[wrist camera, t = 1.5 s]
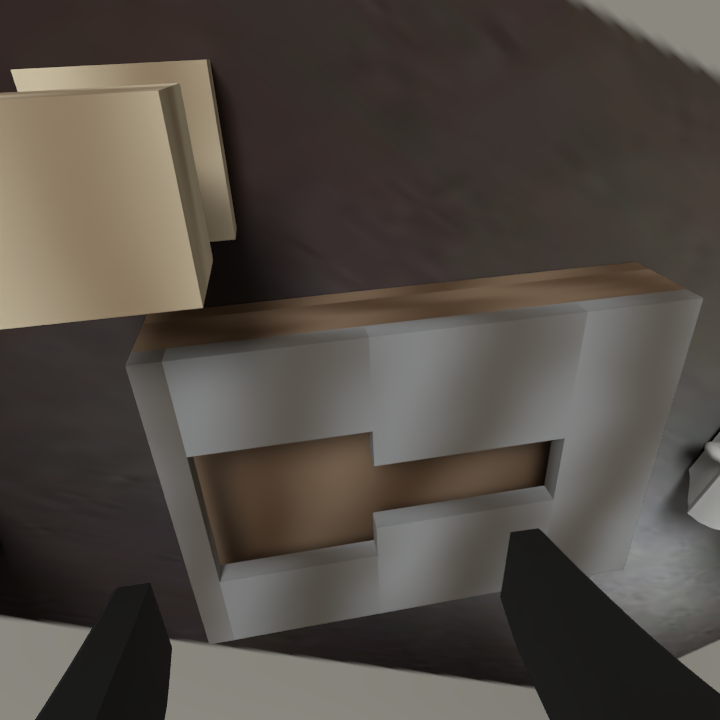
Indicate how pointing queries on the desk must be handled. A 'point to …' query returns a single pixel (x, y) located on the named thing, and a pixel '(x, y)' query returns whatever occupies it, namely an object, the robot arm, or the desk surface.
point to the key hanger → (109, 191)
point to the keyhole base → (406, 436)
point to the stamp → (706, 486)
